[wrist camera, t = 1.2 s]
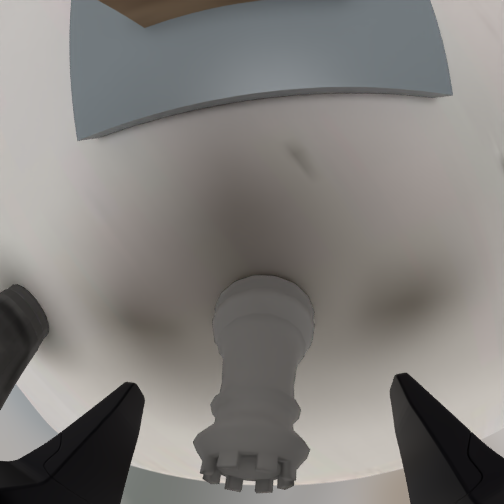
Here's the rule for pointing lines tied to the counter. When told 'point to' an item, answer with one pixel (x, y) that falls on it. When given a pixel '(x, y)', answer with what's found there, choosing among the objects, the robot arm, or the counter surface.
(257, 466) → the rook chess piece
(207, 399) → the counter surface
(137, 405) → the robot arm
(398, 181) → the counter surface
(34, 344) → the beverage cup
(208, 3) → the base brick
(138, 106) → the build plate
